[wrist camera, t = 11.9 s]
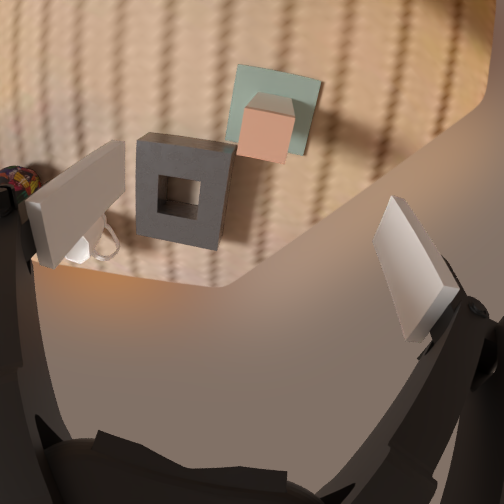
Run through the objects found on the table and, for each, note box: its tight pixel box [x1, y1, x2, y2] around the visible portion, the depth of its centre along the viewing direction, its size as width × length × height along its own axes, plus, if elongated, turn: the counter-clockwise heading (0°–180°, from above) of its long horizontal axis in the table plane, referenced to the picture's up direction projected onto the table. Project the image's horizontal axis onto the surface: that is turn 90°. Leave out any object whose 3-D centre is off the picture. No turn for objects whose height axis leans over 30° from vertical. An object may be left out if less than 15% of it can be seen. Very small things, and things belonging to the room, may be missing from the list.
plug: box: [236, 92, 295, 164], centre depth 29 cm, size 4×4×14 cm
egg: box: [0, 166, 41, 204], centre depth 38 cm, size 11×11×15 cm
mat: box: [225, 64, 321, 156], centre depth 35 cm, size 10×10×1 cm
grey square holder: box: [136, 132, 236, 251], centre depth 41 cm, size 14×12×4 cm
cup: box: [65, 213, 120, 264], centre depth 44 cm, size 7×10×8 cm
